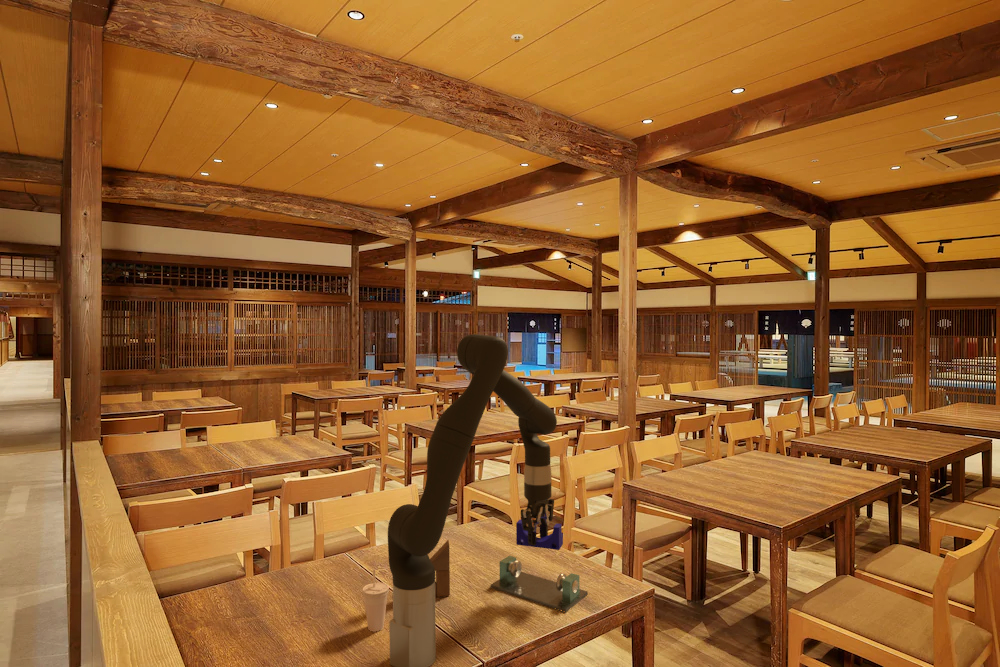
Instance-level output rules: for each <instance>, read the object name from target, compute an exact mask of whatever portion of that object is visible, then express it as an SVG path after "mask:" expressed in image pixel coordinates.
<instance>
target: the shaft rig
mask: <svg viewBox="0 0 1000 667" xmlns="http://www.w3.org/2000/svg"><path fill="white" fill-rule="evenodd" d="M522 566H523V565H522V563H521V561H520V560H517V557H515V556H511V555H508V556H506V557H505V558H503V559H501V560H499V579H497V580H495V581H494V582H492V583H491V584H490V588H491V589H493V590H496V591H500V592H504V593H506V594H509V595H512V596H515V597H518V598H520V599H523V600H527V601H530V602H533V603H536V604H539V605H542V606H545V607H548V608H551V609H554V608H556V609H555V610H557V609H559V610H558V611H560V610H562V611H561V612H563V611H565V612H564V613H567V612H569V611H570V610H571V609H572V608H574V607H575V605H577V604H579V602H581V601H582V600H583V599H584V598H585V597H586V596H587V595H588V592H589V591H587V590H584V589H580V575H579V574H576V573H573V572H571V573H570V574H568V575H567V574H565V573H559V575H558V576H557V579H556V581H554V580H551V579H547V578H545V577H541V576H537V575H533V574H530V573H527V572H524V571H522V568H523V567H522ZM570 608H571V609H570ZM569 609H570V610H569ZM566 611H567V612H566Z"/></svg>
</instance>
